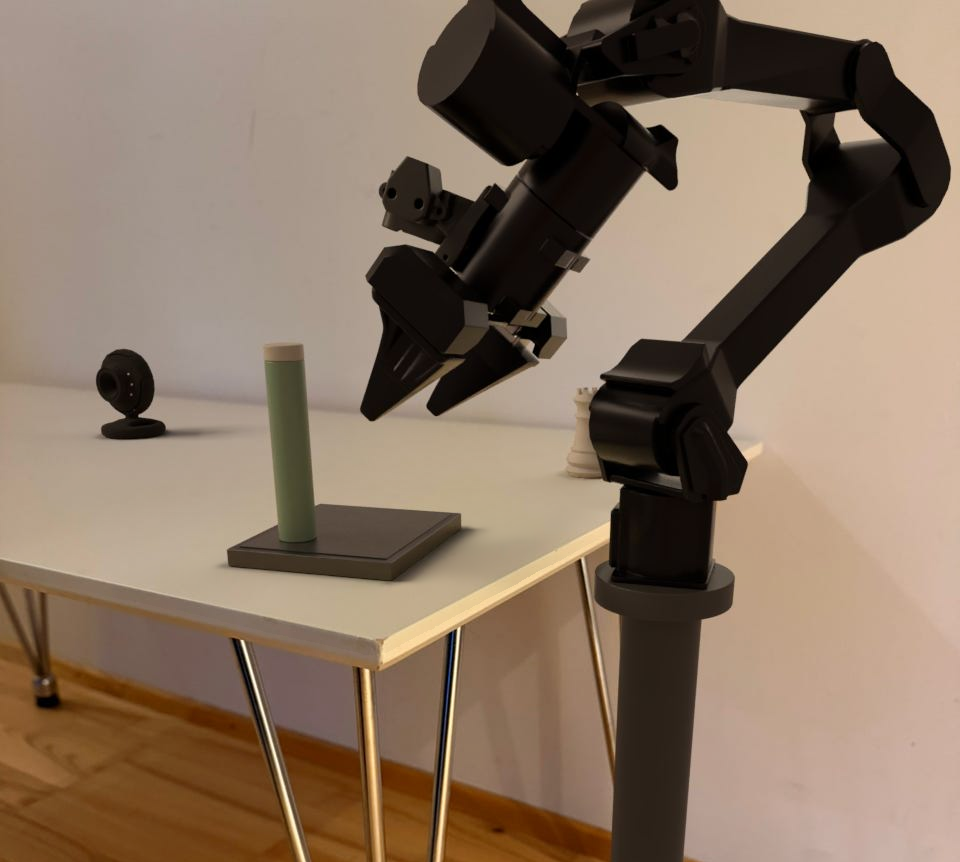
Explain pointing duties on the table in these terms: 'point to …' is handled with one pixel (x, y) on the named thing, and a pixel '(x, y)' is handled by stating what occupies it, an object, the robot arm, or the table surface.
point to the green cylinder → (290, 441)
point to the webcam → (128, 395)
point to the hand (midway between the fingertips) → (400, 414)
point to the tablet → (351, 542)
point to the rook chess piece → (583, 440)
